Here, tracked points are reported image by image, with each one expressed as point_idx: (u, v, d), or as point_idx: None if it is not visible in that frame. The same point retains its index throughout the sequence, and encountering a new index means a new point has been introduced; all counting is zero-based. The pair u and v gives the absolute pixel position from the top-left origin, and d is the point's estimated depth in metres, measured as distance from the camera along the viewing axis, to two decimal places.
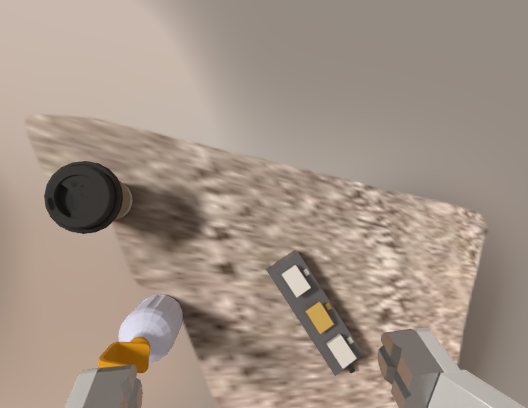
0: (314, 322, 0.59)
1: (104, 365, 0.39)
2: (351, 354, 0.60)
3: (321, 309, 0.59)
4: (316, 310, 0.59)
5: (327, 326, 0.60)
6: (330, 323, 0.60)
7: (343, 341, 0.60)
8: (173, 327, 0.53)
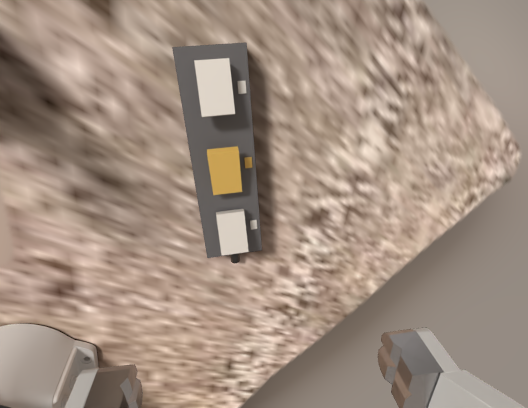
0: (212, 173, 0.33)
1: None
2: (244, 243, 0.37)
3: (234, 159, 0.33)
4: (224, 155, 0.32)
5: (231, 189, 0.35)
6: (237, 187, 0.35)
7: (242, 221, 0.37)
8: None
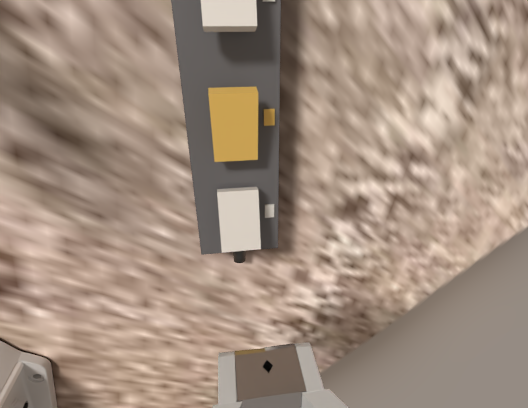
0: (215, 126, 0.22)
1: None
2: (255, 236, 0.26)
3: (250, 105, 0.21)
4: (235, 97, 0.21)
5: (242, 155, 0.23)
6: (251, 153, 0.23)
7: (255, 204, 0.25)
8: None
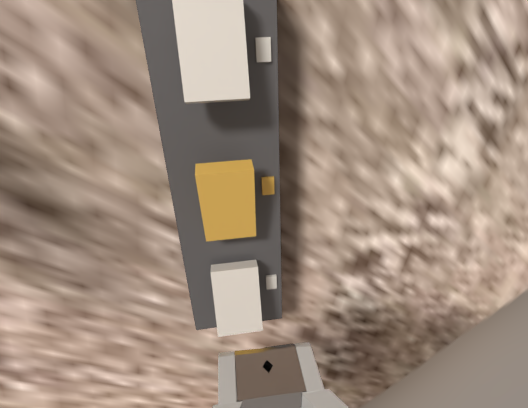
0: (204, 206, 0.18)
1: None
2: (256, 317, 0.22)
3: (245, 183, 0.18)
4: (227, 177, 0.17)
5: (237, 232, 0.20)
6: (248, 230, 0.20)
7: (255, 283, 0.22)
8: None
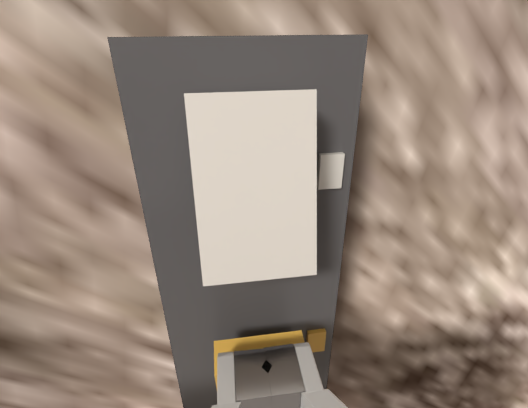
0: None
1: None
2: None
3: None
4: None
5: None
6: None
7: None
8: None
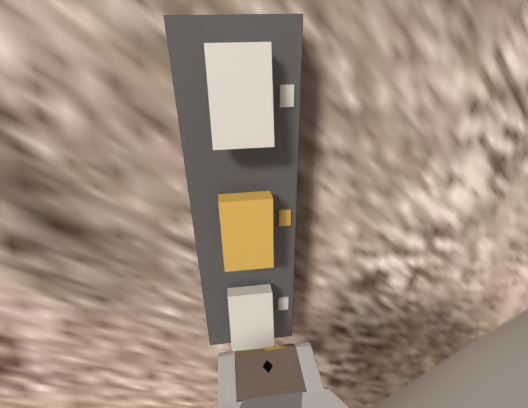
0: (225, 235, 0.19)
1: None
2: (269, 338, 0.24)
3: (264, 211, 0.19)
4: (248, 205, 0.19)
5: (255, 263, 0.21)
6: (266, 260, 0.21)
7: (269, 307, 0.23)
8: None
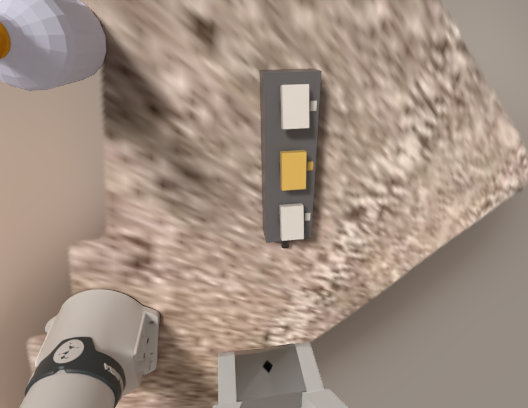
0: (284, 170, 0.41)
1: None
2: (301, 231, 0.45)
3: (302, 158, 0.41)
4: (295, 154, 0.40)
5: (297, 186, 0.42)
6: (302, 184, 0.42)
7: (301, 213, 0.45)
8: (74, 52, 0.29)
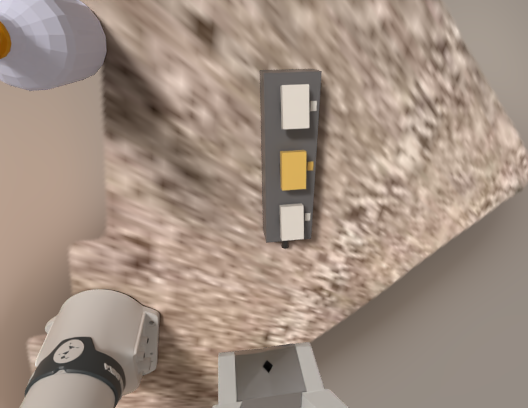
0: (284, 169, 0.41)
1: None
2: (301, 231, 0.45)
3: (302, 158, 0.41)
4: (295, 154, 0.41)
5: (297, 186, 0.42)
6: (302, 184, 0.42)
7: (301, 214, 0.45)
8: (75, 52, 0.29)
